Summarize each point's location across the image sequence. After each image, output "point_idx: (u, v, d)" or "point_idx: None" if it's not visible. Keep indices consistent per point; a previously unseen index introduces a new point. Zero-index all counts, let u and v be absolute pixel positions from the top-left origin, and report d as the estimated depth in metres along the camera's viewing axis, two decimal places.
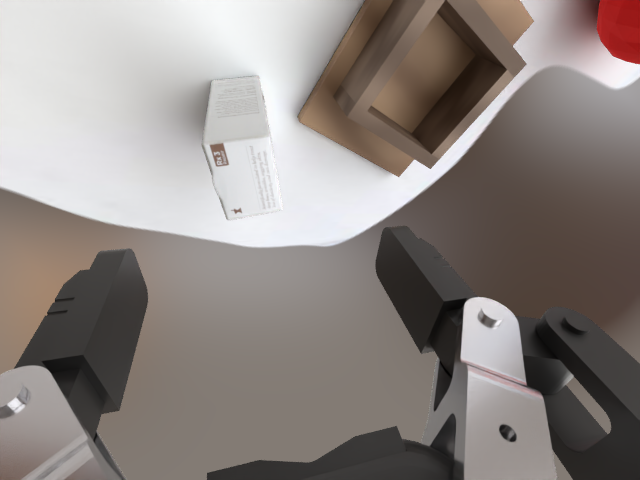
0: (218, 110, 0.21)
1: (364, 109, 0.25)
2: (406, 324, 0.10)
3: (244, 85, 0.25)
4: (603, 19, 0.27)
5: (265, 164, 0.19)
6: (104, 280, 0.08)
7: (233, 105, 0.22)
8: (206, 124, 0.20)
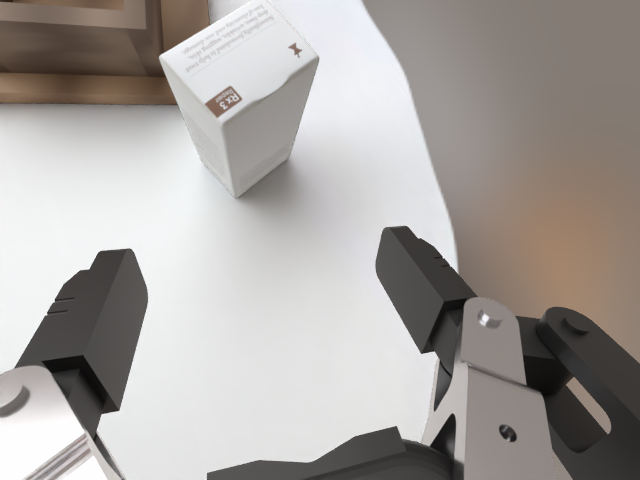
0: (220, 157, 0.18)
1: (124, 15, 0.19)
2: (406, 324, 0.10)
3: (208, 162, 0.22)
4: None
5: (201, 42, 0.13)
6: (104, 280, 0.08)
7: (209, 148, 0.18)
8: (225, 151, 0.16)
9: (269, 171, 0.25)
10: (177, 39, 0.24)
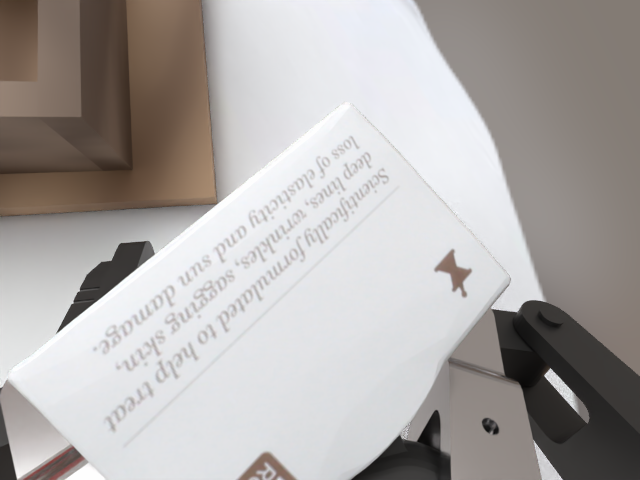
0: None
1: (39, 89, 0.10)
2: None
3: None
4: None
5: (166, 300, 0.04)
6: (126, 270, 0.08)
7: None
8: None
9: None
10: (154, 104, 0.15)
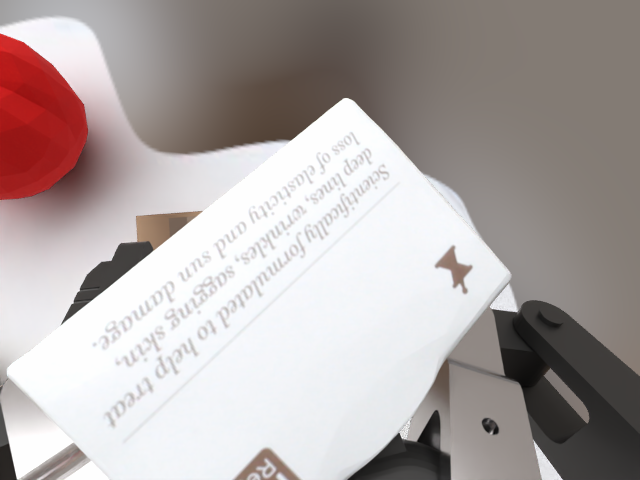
0: None
1: None
2: None
3: None
4: (76, 155, 0.24)
5: (166, 295, 0.04)
6: (127, 270, 0.08)
7: None
8: None
9: None
10: None
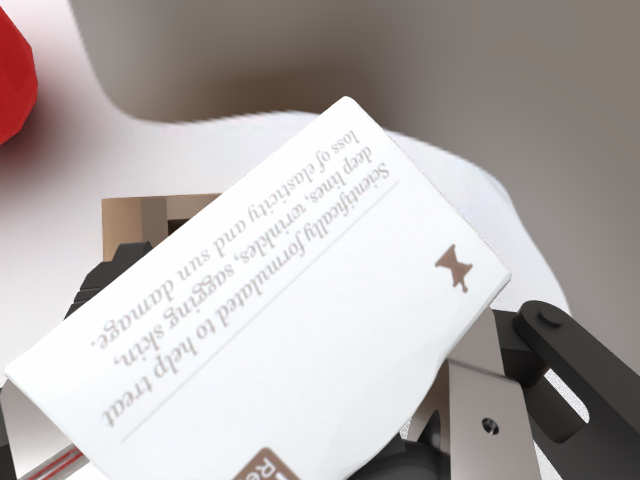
0: None
1: None
2: None
3: None
4: (19, 114, 0.18)
5: (164, 294, 0.04)
6: None
7: None
8: None
9: None
10: None
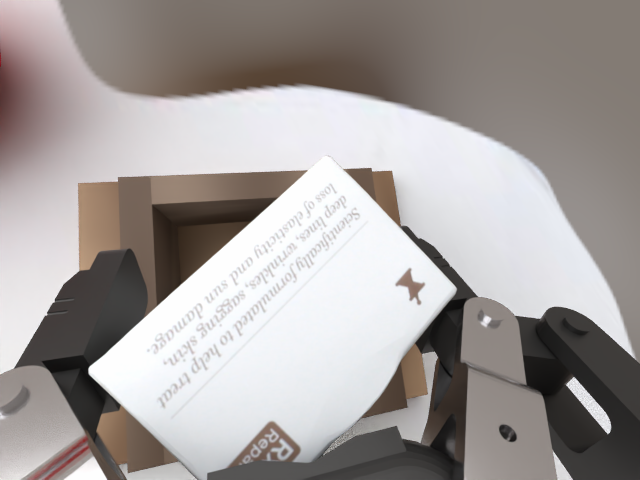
0: None
1: None
2: None
3: None
4: None
5: (196, 313, 0.05)
6: (104, 280, 0.08)
7: None
8: None
9: None
10: None
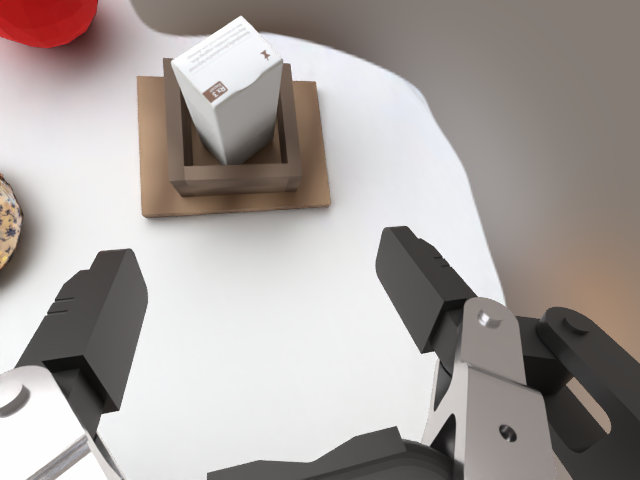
0: (215, 135, 0.24)
1: (288, 166, 0.27)
2: (406, 324, 0.10)
3: (207, 143, 0.28)
4: (88, 16, 0.29)
5: (199, 51, 0.19)
6: (104, 280, 0.08)
7: (207, 129, 0.24)
8: (218, 128, 0.22)
9: (256, 151, 0.31)
10: (302, 160, 0.32)
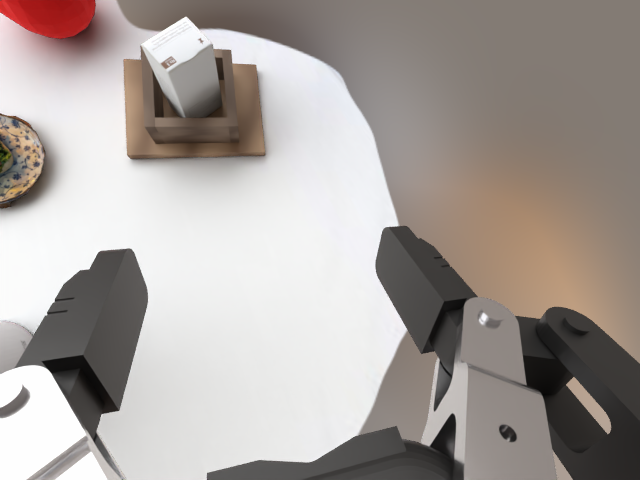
0: (173, 94, 0.36)
1: (227, 119, 0.40)
2: (406, 324, 0.10)
3: (172, 104, 0.41)
4: (89, 16, 0.41)
5: (158, 38, 0.32)
6: (104, 280, 0.08)
7: (169, 91, 0.37)
8: (173, 88, 0.34)
9: (209, 112, 0.43)
10: (244, 121, 0.45)
